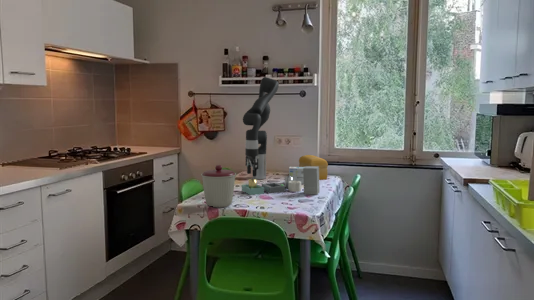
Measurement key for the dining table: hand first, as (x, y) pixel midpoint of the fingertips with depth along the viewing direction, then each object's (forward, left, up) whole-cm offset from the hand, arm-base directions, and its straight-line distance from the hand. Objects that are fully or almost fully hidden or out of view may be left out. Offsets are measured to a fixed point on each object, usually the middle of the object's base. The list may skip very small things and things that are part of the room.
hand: (251, 174), depth 250 cm
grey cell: (-1, +25, -10) cm, 27 cm away
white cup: (+6, +25, -10) cm, 28 cm away
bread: (-29, +59, -11) cm, 67 cm away
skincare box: (+17, +30, -11) cm, 37 cm away
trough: (0, 0, -10) cm, 10 cm away
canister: (+22, -28, -11) cm, 37 cm away
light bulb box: (-13, +37, -11) cm, 41 cm away
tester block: (+1, +13, -10) cm, 17 cm away
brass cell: (0, 0, -10) cm, 10 cm away
